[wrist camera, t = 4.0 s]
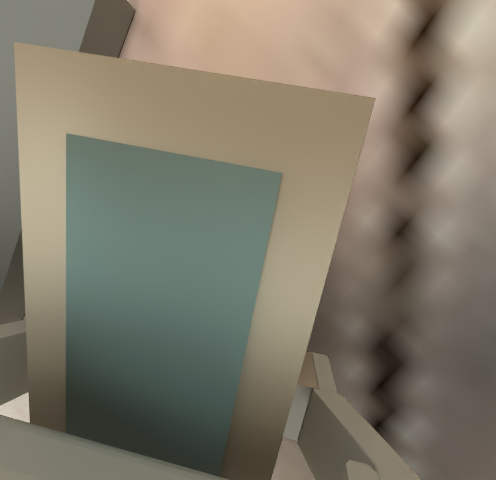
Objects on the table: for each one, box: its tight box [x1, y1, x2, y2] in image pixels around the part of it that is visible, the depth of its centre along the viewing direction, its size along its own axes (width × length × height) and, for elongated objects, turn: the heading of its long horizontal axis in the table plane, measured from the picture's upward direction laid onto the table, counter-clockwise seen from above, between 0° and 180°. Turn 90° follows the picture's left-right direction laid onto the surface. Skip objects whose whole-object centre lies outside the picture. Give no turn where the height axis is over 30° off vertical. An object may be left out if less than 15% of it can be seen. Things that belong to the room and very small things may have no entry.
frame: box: [14, 42, 375, 480], centre depth 9 cm, size 19×6×5 cm, turn 170°
